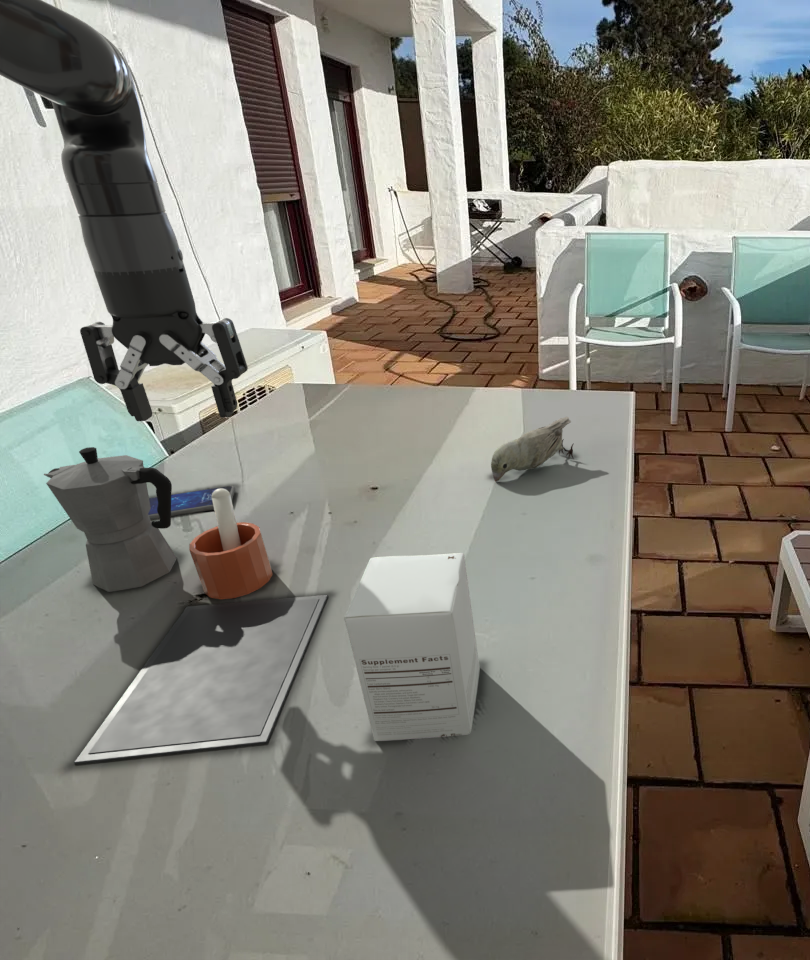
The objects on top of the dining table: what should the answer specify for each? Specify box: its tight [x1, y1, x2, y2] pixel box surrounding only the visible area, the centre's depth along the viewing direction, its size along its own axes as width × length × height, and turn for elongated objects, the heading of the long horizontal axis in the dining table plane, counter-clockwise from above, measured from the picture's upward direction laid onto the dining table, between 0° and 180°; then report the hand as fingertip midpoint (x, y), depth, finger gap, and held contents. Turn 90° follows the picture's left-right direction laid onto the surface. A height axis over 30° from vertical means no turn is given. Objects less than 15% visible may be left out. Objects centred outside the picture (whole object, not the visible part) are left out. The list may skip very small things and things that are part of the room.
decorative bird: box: [490, 416, 575, 483], centre depth 108 cm, size 5×16×8 cm, turn 132°
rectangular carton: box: [343, 552, 481, 742], centre depth 58 cm, size 9×9×15 cm
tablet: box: [73, 594, 329, 765], centre depth 66 cm, size 16×22×1 cm
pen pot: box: [188, 521, 273, 600], centre depth 78 cm, size 8×8×7 cm
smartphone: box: [148, 485, 236, 521], centre depth 98 cm, size 7×1×15 cm
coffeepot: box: [43, 446, 178, 593], centre depth 78 cm, size 15×9×18 cm, turn 85°
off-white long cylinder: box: [212, 488, 241, 551], centre depth 79 cm, size 2×2×12 cm
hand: (186, 417), depth 70 cm, fingers open, 8 cm apart
